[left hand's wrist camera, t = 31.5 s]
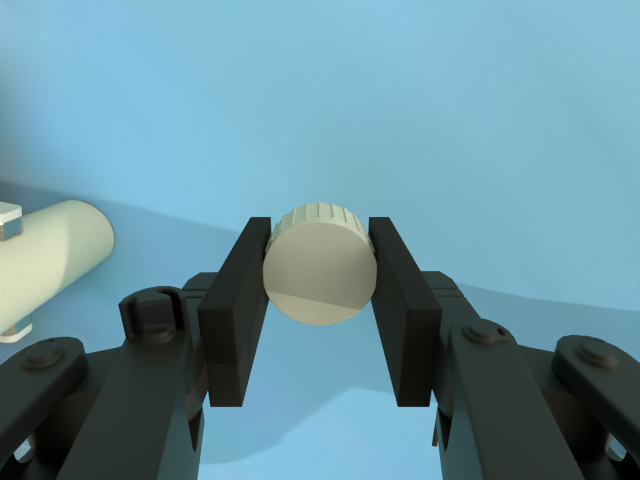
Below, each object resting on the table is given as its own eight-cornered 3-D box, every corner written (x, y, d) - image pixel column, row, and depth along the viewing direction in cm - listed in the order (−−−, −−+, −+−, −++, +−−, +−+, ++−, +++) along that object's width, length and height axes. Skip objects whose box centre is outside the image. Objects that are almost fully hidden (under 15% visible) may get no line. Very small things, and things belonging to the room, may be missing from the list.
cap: (359, 189, 13) (366, 206, 11) (378, 283, 15) (389, 314, 13) (255, 214, 14) (244, 235, 11) (284, 303, 15) (279, 337, 13)
